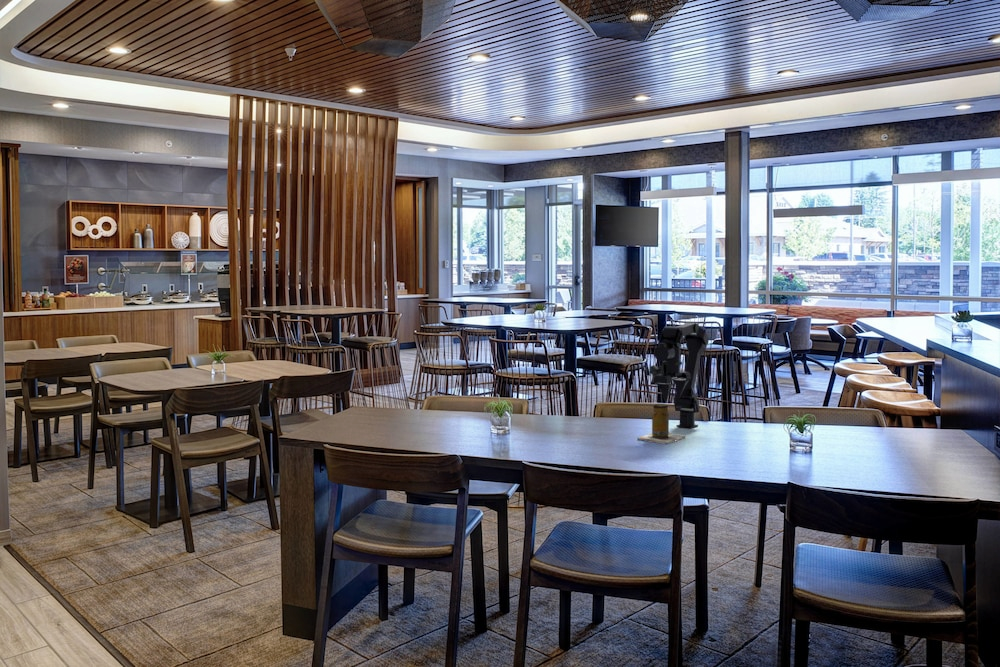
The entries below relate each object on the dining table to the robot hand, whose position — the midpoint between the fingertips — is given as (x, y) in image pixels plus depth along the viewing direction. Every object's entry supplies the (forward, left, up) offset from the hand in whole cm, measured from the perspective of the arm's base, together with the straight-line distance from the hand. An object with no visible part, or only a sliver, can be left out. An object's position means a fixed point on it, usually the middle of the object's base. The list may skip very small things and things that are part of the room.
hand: (671, 399), depth 306 cm
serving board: (+12, +3, -13) cm, 18 cm away
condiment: (+13, +4, -13) cm, 18 cm away
